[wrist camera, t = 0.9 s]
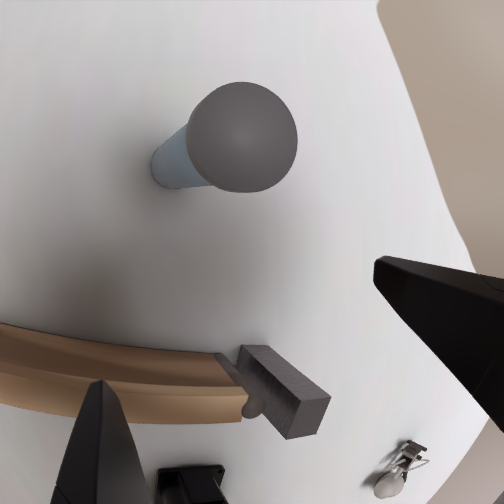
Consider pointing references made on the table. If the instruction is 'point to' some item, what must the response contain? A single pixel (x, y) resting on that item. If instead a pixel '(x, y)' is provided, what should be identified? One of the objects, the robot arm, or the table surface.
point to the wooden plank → (122, 380)
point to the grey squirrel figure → (399, 471)
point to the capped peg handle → (230, 142)
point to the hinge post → (283, 391)
